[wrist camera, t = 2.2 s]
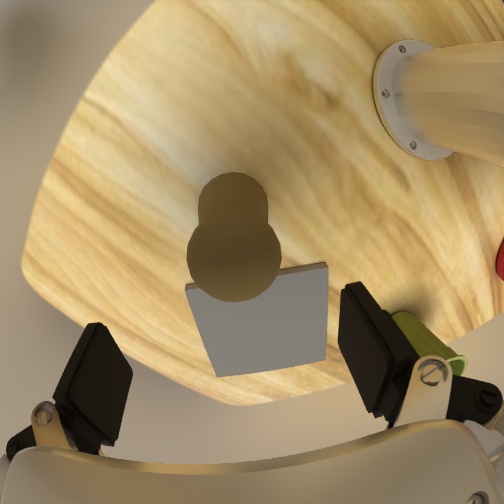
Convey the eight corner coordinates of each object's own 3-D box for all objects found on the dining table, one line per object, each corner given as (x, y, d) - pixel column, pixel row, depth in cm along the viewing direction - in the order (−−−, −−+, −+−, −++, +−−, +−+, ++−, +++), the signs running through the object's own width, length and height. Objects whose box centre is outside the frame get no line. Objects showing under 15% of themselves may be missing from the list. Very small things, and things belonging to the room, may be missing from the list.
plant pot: (356, 308, 30) (397, 382, 20) (433, 287, 30) (481, 342, 19) (348, 369, 35) (373, 432, 25) (415, 347, 35) (447, 399, 25)
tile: (325, 262, 26) (328, 267, 25) (323, 354, 33) (325, 359, 32) (186, 284, 26) (184, 290, 25) (217, 371, 33) (216, 377, 32)
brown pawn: (266, 238, 25) (289, 317, 15) (200, 239, 24) (181, 319, 15) (269, 172, 22) (300, 214, 12) (196, 173, 22) (167, 216, 12)
